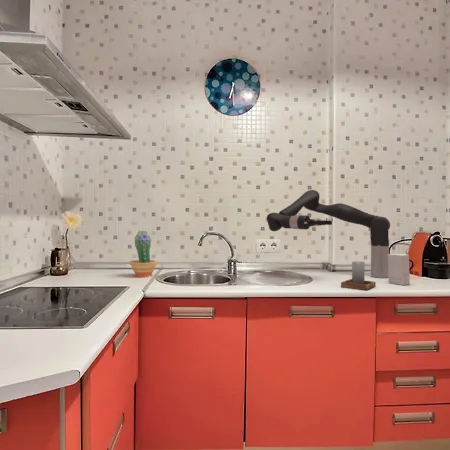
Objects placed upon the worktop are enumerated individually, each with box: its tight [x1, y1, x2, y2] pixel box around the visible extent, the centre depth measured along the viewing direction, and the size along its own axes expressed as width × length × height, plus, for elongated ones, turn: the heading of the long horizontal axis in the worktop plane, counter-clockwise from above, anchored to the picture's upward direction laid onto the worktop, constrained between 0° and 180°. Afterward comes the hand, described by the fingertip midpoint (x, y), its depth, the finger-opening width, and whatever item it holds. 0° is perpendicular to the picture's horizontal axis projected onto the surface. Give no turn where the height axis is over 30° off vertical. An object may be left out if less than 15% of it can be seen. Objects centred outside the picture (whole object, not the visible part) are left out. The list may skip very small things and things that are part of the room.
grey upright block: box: [351, 260, 366, 285], centre depth 176 cm, size 6×6×11 cm
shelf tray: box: [340, 278, 377, 292], centre depth 176 cm, size 12×12×2 cm
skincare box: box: [387, 253, 411, 286], centre depth 185 cm, size 8×6×15 cm
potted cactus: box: [128, 230, 158, 278], centre depth 205 cm, size 15×15×25 cm
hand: (328, 222), depth 191 cm, fingers open, 8 cm apart
